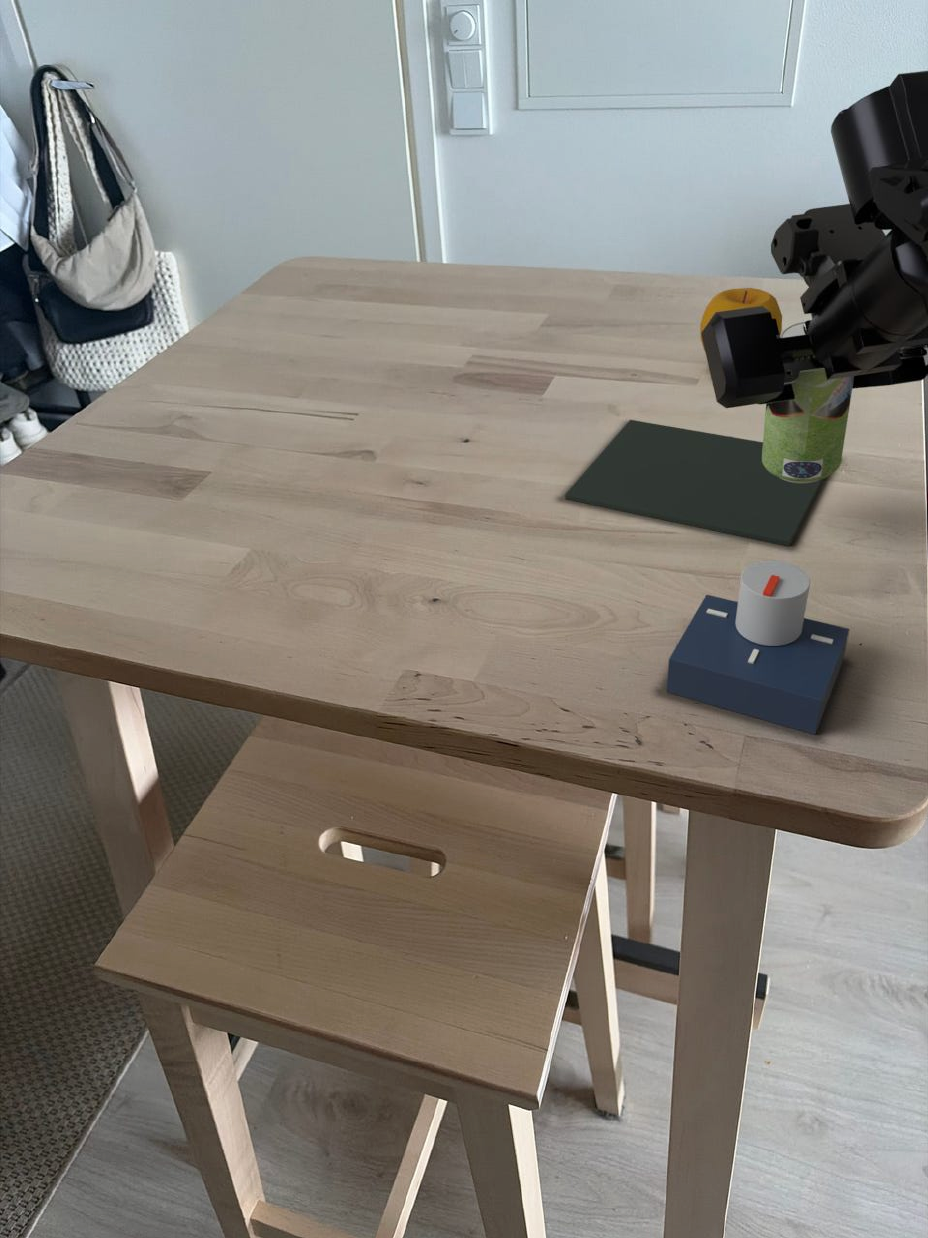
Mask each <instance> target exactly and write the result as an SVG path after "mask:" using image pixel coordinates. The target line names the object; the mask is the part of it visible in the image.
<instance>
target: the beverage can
mask: <svg viewBox="0 0 928 1238" xmlns="http://www.w3.org/2000/svg"><path fill="white" fill-rule="evenodd" d="M806 321H807V320H806ZM806 321H801V322H796V323H794V324H791V325H789V326H787V327H786V328H785V329H783V330H782V331H781V335H780V337H781V338H785V337H792V336H799V335H805V333H804V329H803V324H804V323H805V322H806ZM813 357H815V356H813ZM808 358H809V357H808ZM798 359H799V358H797V360H798ZM803 360H804V358H803ZM853 381H854V376H850V377H843V378H836V379H830V380H827V377H826V373H825V369H824V370H817V371H810V372H803V373H799V377H798V379H797V380H796V381H795V382H794V383H792V387H793V391H794V395H795V399H794V400H788V401H782V402H775V403H768V404H765V415H764V427H763V437H762V442H763V447H762V463H763V465H764V467H765V468H766V469H767V470H768V471H769V472H770V473H772V474H773V475H775V476H777V477H779V478H781V479H783V480H785V481H789V482H793V483H810V482H814V481H817V480H820V479H823V478H824V479H826V478H828V477H830V476H832V475H833V474H834V473H836V471H837V470H838V469H839V468H840V466H841V464H842V459H843V451H844V445H845V438H846V433H847V425H848V419H849V413H850V407H851V400H852V393H853V389H852V387H853ZM824 479H823V480H824Z"/></svg>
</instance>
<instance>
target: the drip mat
mask: <svg viewBox="0 0 928 1238" xmlns="http://www.w3.org/2000/svg"><path fill="white" fill-rule="evenodd" d="M762 447H763V441H758V440H751V439H745V438H739V437H735V436H729V435H722V434H716V433H712V432H705V431H700V430H699V431H698V430H694V429H693V430H692V429H686V428H681V427H675V426H670V425H665V424H658V423H652V422H648V421H640V420H634V419H629V421H628V422H627V423H626V424H625V425H624V426H623V427H622V428H621V430H619V432H618V433H617V434H616V435H615V436H614V438H613V439H612V440H611V441H610V443H609V444H608V445H607V446H606V447H605V448H604V449H603V450H602V452H601V453H600V454H598V456H597V457H596V459H595V460H593V462H592V463H591V464H590V465H589V466H588V468H586V470H585V471H584V472H583V473H582V475H581V476H579V478H578V479H577V480H576V481H575V483H574V484H573V485H572V486H571V487H570V488H569V489H568V490H567V492H566V493H565V495H564V499H565V500H569V501H573V502H579V503H583V504H587V505H593V506H597V507H602V508H606V509H612V510H616V511H621V512H625V513H630V514H633V515H635V514H636V515H640V516H644V517H649V518H655V519H657V520H663V521H668V522H673V523H677V524H683V525H687V526H691V527H696V528H701V529H705V530H709V531H710V530H711V531H715V532H719V533H725V534H729V535H734V536H739V537H743V538H748V539H752V540H758V541H762V542H767V543H772V544H775V545H776V544H777V545H780V546H786V547H790V546H791V544H792V542H793V540H794V538H795V536H796V535H797V532H798V530H799V529H800V526H801V525H802V523H803V520H804V518H805V516H806V515H807V513H808V510H809V509H810V506H811V505H812V503H813V501H814V499H815V496H816V495H817V493H818V491H819V489H820V487H821V486H822V483H823V481H824V479H825V478H823V479H820V480H817V481H814V482H810V483H793V482H789V481H785V480H783V479H781V478H779V477H777V476H775V475H773V474H772V473H770V472H769V471H768V470H767V469H766V468H765V467H764V465H763V463H762Z"/></svg>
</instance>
